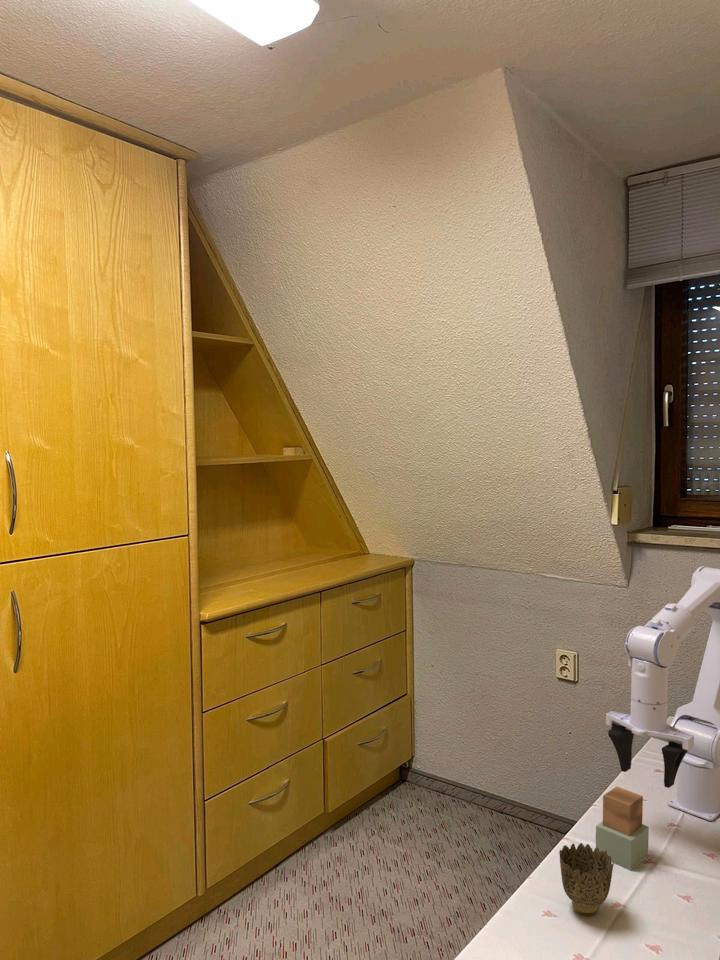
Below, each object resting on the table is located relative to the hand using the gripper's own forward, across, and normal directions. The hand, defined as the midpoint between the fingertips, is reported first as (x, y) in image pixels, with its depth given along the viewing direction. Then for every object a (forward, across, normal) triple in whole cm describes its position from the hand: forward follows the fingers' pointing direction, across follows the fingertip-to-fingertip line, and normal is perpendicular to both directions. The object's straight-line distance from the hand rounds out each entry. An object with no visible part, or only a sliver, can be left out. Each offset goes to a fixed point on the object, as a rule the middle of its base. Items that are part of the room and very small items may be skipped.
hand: (647, 777), depth 125 cm
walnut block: (+6, 0, -8) cm, 10 cm away
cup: (+11, +4, -25) cm, 27 cm away
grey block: (+11, 0, -8) cm, 13 cm away
